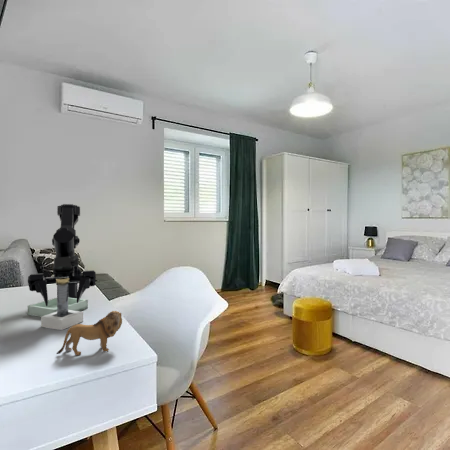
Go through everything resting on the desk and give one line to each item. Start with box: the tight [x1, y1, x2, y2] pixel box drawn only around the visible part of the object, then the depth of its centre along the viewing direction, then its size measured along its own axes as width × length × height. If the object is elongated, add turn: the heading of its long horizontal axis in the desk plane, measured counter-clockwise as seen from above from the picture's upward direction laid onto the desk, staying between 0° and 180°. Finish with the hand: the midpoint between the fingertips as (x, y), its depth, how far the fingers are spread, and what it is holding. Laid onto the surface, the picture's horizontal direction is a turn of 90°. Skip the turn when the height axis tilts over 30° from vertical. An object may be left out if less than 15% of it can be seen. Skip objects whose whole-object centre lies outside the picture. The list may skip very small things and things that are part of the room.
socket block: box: [40, 310, 84, 331], centre depth 90 cm, size 8×8×3 cm
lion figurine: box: [56, 310, 123, 356], centre depth 72 cm, size 15×5×9 cm, turn 116°
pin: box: [55, 277, 69, 317], centre depth 90 cm, size 4×4×14 cm
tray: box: [27, 297, 89, 318], centre depth 103 cm, size 13×13×3 cm
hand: (62, 303), depth 89 cm, fingers open, 8 cm apart
